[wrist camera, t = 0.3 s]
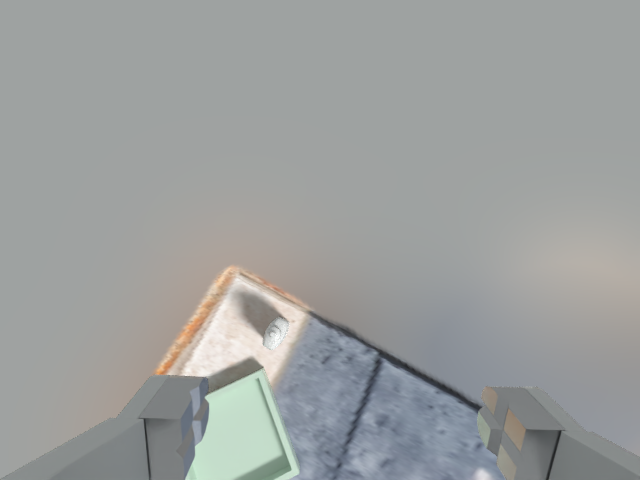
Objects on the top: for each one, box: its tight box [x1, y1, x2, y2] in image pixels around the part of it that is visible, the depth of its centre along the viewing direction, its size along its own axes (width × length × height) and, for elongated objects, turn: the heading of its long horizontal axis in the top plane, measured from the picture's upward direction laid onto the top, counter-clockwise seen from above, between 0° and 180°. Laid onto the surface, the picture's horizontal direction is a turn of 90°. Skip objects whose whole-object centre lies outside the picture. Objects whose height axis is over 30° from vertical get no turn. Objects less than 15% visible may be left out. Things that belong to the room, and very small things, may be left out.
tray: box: [185, 368, 300, 480], centre depth 53 cm, size 18×18×3 cm
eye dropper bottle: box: [263, 317, 289, 350], centre depth 54 cm, size 4×6×12 cm
